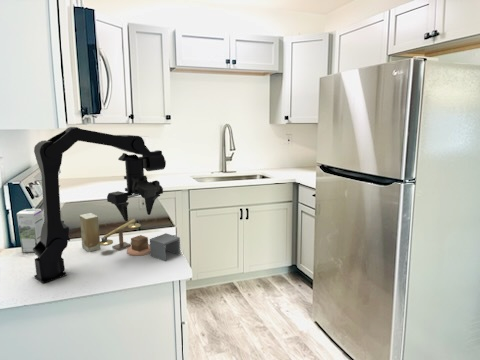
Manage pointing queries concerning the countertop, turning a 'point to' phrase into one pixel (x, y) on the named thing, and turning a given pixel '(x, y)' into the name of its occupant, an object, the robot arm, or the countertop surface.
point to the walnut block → (139, 243)
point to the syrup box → (29, 228)
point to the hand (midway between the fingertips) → (138, 217)
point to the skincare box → (90, 232)
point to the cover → (164, 245)
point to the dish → (136, 253)
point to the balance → (121, 244)
